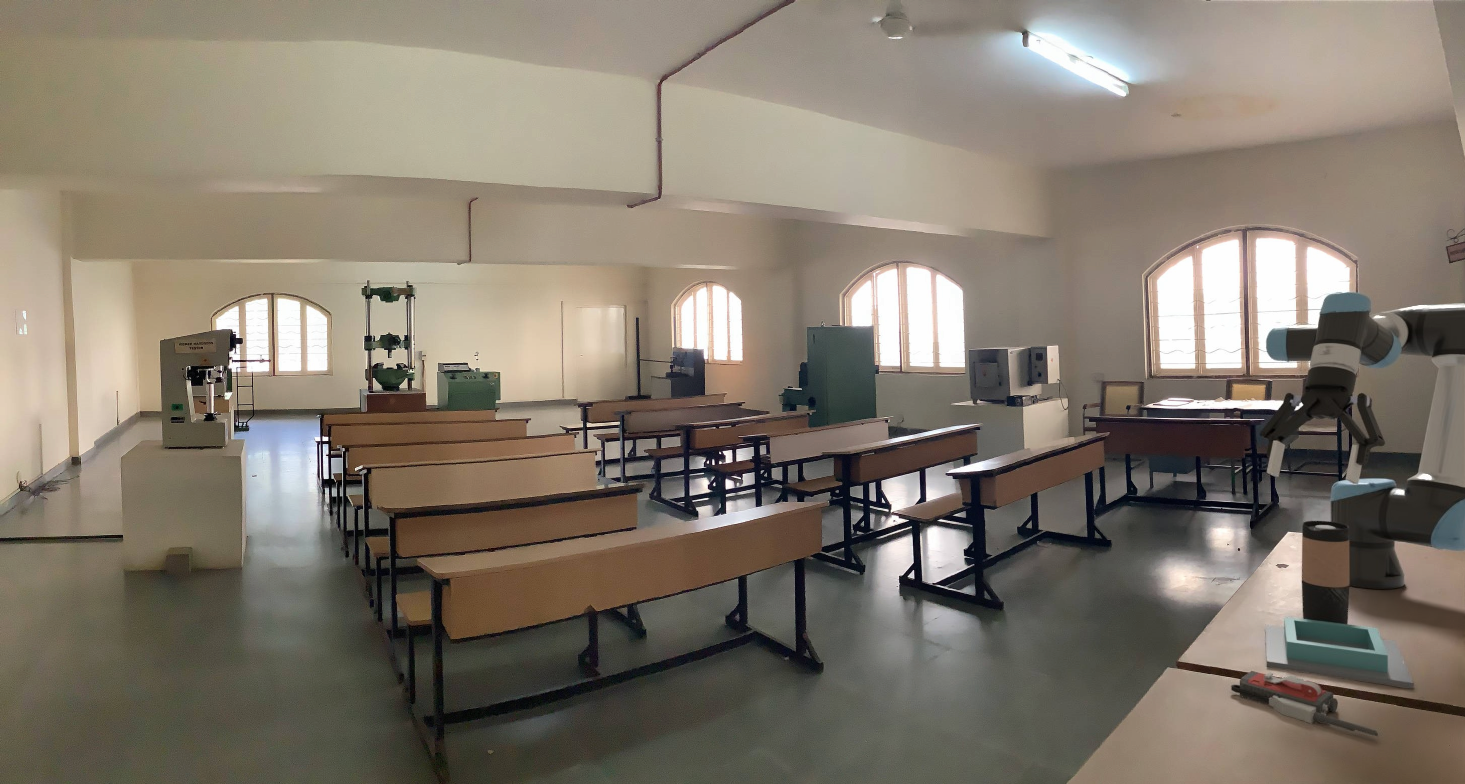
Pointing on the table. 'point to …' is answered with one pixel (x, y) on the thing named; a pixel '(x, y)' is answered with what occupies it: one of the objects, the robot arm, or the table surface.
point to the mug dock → (1336, 652)
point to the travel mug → (1325, 571)
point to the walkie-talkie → (1294, 698)
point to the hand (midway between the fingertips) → (1310, 478)
